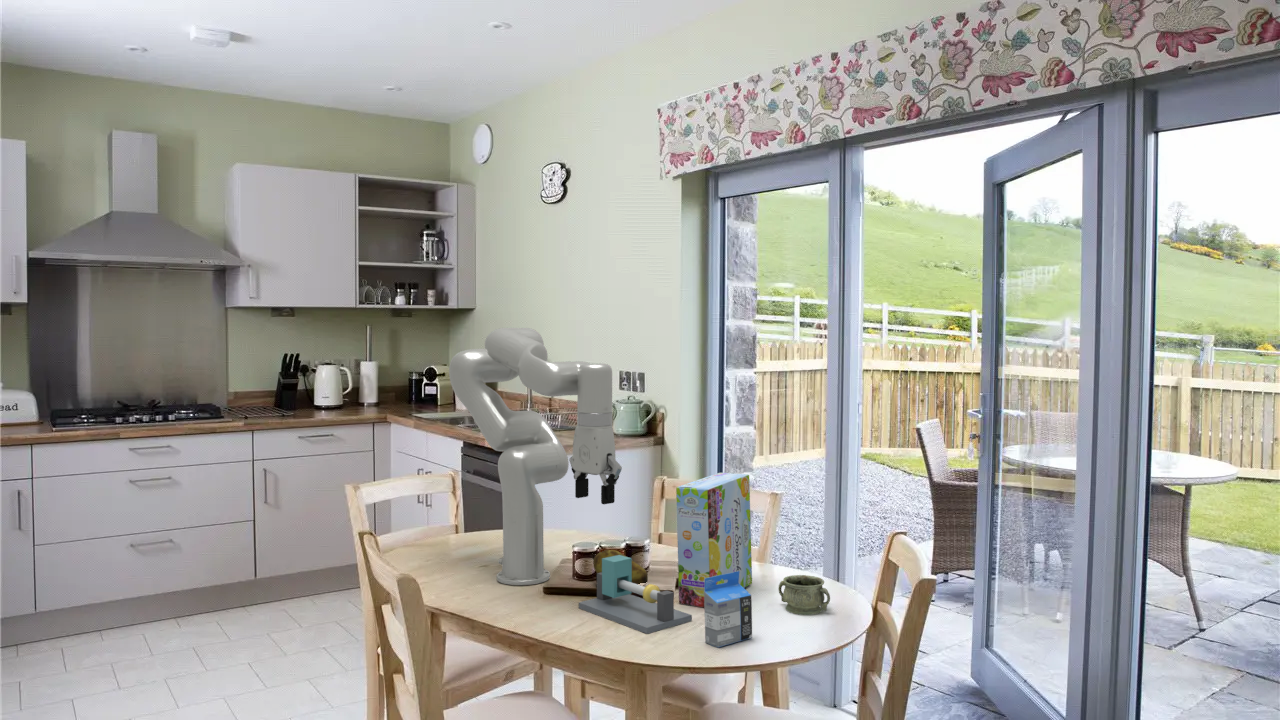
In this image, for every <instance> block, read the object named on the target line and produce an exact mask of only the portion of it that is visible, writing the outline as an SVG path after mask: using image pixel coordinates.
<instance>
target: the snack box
mask: <svg viewBox="0 0 1280 720" xmlns="http://www.w3.org/2000/svg"><path fill="white" fill-rule="evenodd" d="M750 487H751V486H750V474H749V473H747V474H746V473H734V472H733V473H731V472H718V473H715V474H712V475H708V476H706V477H703V478H699V479H697V480H694V481H691V482H688V483H685V484H682V485H680V486H677V487H676V488H675V489H676V492H675V493H676V498H675V499H676V530H677V531H676V532H677V533H676V534H677V538H676V539H677V568H678V569H677V570H678V571H677V573H678V574H677V575H678V577H677V578H678V580H677V581H678V604H680V605H686V606H690V607H691V606H692V607H697V608H704V586H705V585H704V584H705V578H708V577H713V576H717V575H722V574H727V573H732V572H737V571H740V573H739V584H740V585H741V586H742V587H743V588H744V589H745V588H747V587H748V586H750V585H752V584H753V568H752V567H753V565H752V562H753V561H752V557H753V556H752V532H751V530H752V529H751V527H752V526H751V525H752V523H751V495H750V494H751V488H750ZM727 581H728V580H723V579H721V581H718V582H716V585H717V584H722V583H726V582H727Z"/></svg>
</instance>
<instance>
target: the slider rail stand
mask: <svg viewBox="0 0 1280 720" xmlns="http://www.w3.org/2000/svg"><path fill="white" fill-rule="evenodd" d="M617 587H618V588H621V589H624V590H627V591H630V592H632V593H634V594H637V595H639V596H642V597H639V596H637V595H634V594H628V595H624V596H620V597H616V598H613V597H610V596H607V595H604V594H602V572H601V573H597V572H596V598H592V599H588V600H583V601H578V609H580V610H583V611H586V612H588V613H591V614H593V615H595V616H596V615H597V616H598V617H601V618H604V619H607V620H609V621H612V622H615V623H617V624H619V625H623V626H625V627H628V628H631V629H633V630H636V631H639V632H641V633H643V634H646V635H647V634H651V633H655V632H659V631H662V630H665V629H669V628H673V627H675V626H678V625H683V624H686V623H689V622H692V621H693V615H692V614H690V613H687V612H684V611H681V610H678V609H676V608H675V606H674V605H675V604H674V603H675V602H674V597H675V596H674V595H675V593H674V592H673V591H669V590H668V589H667V590H664V591H662V590H660V588H659V586H658V585H656V584H654V583H653V584H652V583H650V584H646V586H645V585H644V586H641V585H638V584H635V583H632V582H628V581H625V580H622V579H619V578H617Z"/></svg>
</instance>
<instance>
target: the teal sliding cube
mask: <svg viewBox="0 0 1280 720" xmlns="http://www.w3.org/2000/svg"><path fill="white" fill-rule="evenodd" d="M625 556H626V555H624V556H622V555H616V556H612V557H607V558H602V594H604V595H607V596H610V597H613V598H616V597H620V596H624V595H628V594H631V595H633V594H632V593H633V592H630V591H627V590H624V589H621V588H618V587H617V578H619V579H622V580H625V581H628V582H632V561H633V559H632V557H628V556H626V557H625Z"/></svg>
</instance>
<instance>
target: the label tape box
mask: <svg viewBox="0 0 1280 720" xmlns="http://www.w3.org/2000/svg"><path fill="white" fill-rule="evenodd" d="M739 573H740V571H737V572H732V573H727V574H722V575H717V576H713V577H708V578H705V584H704V585H705V586H704V640H705V642H704V643H706V644H708V645H710V646H711V647H715V648H722V647H724V646H728V645H732V644H734V643H739V642H742V641H746V640H749V639H753V614H752V613H753V612H752V607H753V605H752V594H751V593H749V591H747V589H745V588H743V587H742V586H741V585H740V584H739ZM721 579H723V580H728V581H727V582H726V583H722V584H717V585H716V582H718V581H721Z"/></svg>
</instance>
